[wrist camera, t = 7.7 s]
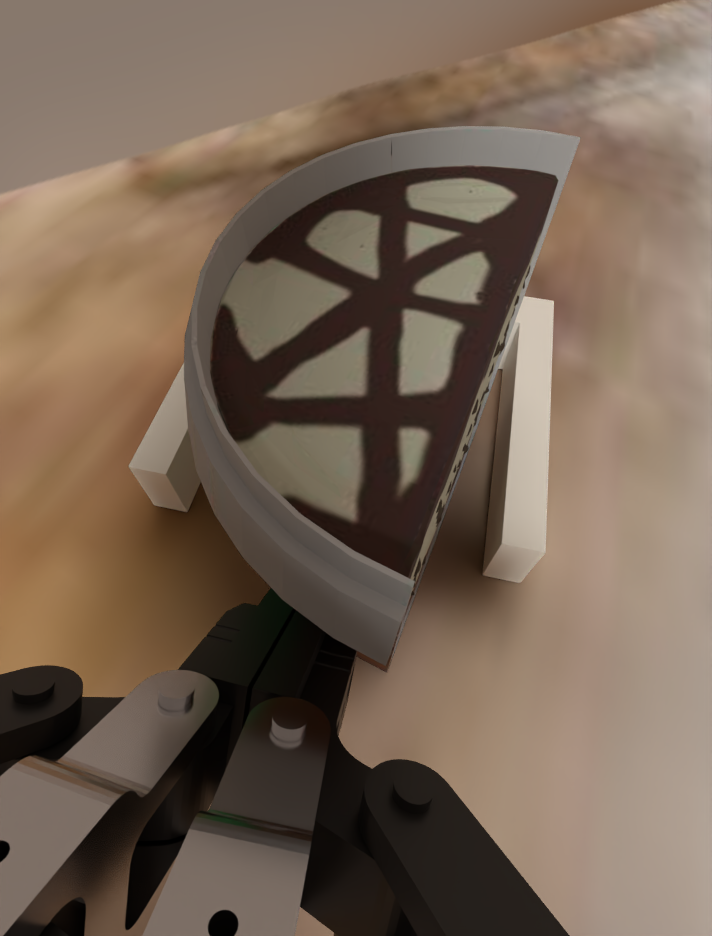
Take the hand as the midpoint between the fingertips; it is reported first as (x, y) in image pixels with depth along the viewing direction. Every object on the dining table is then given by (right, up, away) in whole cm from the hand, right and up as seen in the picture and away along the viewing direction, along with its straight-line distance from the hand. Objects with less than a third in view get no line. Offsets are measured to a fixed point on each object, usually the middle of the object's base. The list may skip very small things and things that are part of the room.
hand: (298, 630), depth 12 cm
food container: (+1, +2, +6) cm, 7 cm away
